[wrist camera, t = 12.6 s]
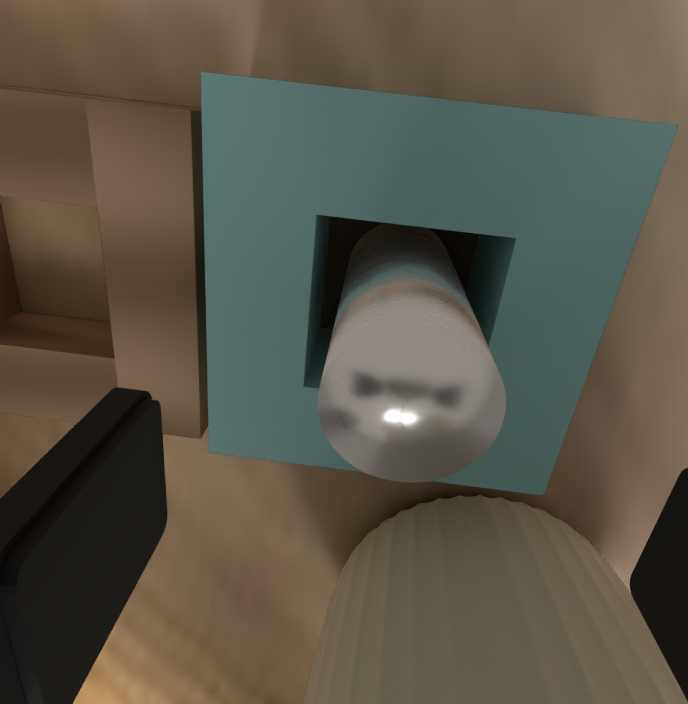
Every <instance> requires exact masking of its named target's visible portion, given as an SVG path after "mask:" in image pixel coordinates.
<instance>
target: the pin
mask: <svg viewBox="0 0 688 704" xmlns="http://www.w3.org/2000/svg"><path fill="white" fill-rule="evenodd" d="M505 411H506V395H505V388H504V384H503V381H502V378H501V375H500V373H499V371H498V368H497V366H496V364H495V361H494V359H493V357H492V354H491V352H490V350H489V348H488V345H487V343H486V341H485V338H484V336H483V334H482V331H481V329H480V327H479V324H478V322H477V320H476V317H475V315H474V313H473V310H472V308H471V306H470V303H469V301H468V299H467V296H466V294H465V292H464V289H463V287H462V285H461V282H460V280H459V278H458V275H457V273H456V271H455V268H454V266H453V264H452V261H451V259H450V257H449V254H448V252H447V250H446V248H445V246H444V244H443V242H442V241H441V240H440V238H439V237H438V236H437V235H436V234H435V233H434V232H433V231H431V230H430V229H428V228H425V227H417V226H408V225H400V224H392V223H383V224H380V225H378V226H376V227H374V228H372V229H371V230H369V231H368V232H367V233H366V234H364V235H363V236H362V237H361V239H360V240H359V241H358V242H357V244H356V245H355V247H354V249H353V251H352V253H351V256H350V259H349V264H348V268H347V272H346V277H345V281H344V285H343V289H342V294H341V298H340V302H339V306H338V311H337V315H336V319H335V324H334V328H333V332H332V336H331V341H330V345H329V349H328V354H327V358H326V362H325V366H324V371H323V375H322V379H321V384H320V388H319V394H318V414H319V420H320V423H321V426H322V429H323V431H324V434H325V436H326V438H327V439H328V441H329V442H330V444H331V445H332V447H333V448H334V449H335V450H336V451H337V453H338V454H339V455H340V456H341V457H343V458H344V459H345V460H346V461H347V462H349V463H350V464H351V465H353V466H354V467H356V468H357V469H359V470H361V471H363V472H365V473H367V474H370V475H372V476H375V477H378V478H381V479H385V480H390V481H395V482H407V483H412V482H425V481H432V480H436V479H441V478H444V477H447V476H449V475H452V474H454V473H456V472H459V471H461V470H463V469H464V468H466V467H467V466H469V465H471V464H472V463H473V462H475V461H476V460H477V459H478V458H480V457H481V456H482V455H483V454H484V453H485V452H486V451H487V450H488V448H489V447H490V446H491V444H492V443H493V442H494V440H495V439H496V437H497V435H498V433H499V431H500V429H501V426H502V423H503V420H504V416H505Z"/></svg>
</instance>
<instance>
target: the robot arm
mask: <svg viewBox="0 0 688 704" xmlns="http://www.w3.org/2000/svg"><path fill="white" fill-rule="evenodd" d="M166 522H167V502H166V485H165V468H164V451H163V434H162V417H161V405H160V403H159V401H157V400H152V397H151V394H150V393H149V392H148V391H143V390H135V389H127V388H120V387H116V388H113V389H112V390H111V391H110V392H109V393H108V394H107V395H106V396H105V397H103V398H102V399H101V400H100V401H99V402H98V403H97V404H96V405H95V406H94V407H93V408H92V409H91V410H90V411H89V412H88V413H87V414H86V415H85V416H84V417H83V418H82V419H81V420H80V421H79V422H78V423H77V424H76V425H75V426H74V427H73V428H72V429H71V430H70V431H69V432H68V433H67V434H66V435H65V436H64V437H63V438H62V439H61V440H60V441H59V442H58V443H57V444H56V445H55V446H54V447H53V448H52V449H51V450H50V451H49V452H48V453H47V454H46V455H44V456H43V457H42V458H41V459H40V460H39V461H38V462H37V463H36V464H35V465H34V466H33V467H32V468H31V469H30V470H29V471H28V472H27V473H26V474H25V475H24V476H23V477H22V478H21V479H20V480H19V481H18V482H17V483H16V484H15V485H14V486H13V487H12V488H11V489H10V490H9V491H8V492H7V493H6V494H5V495H4V496H3V497H2V498H1V499H0V704H73V702H74V700H75V698H76V696H77V694H78V693H79V691H80V689H81V687H82V685H83V683H84V681H85V679H86V678H87V676H88V674H89V672H90V670H91V668H92V666H93V664H94V663H95V661H96V659H97V657H98V655H99V653H100V651H101V649H102V648H103V646H104V644H105V642H106V640H107V638H108V636H109V634H110V633H111V631H112V629H113V627H114V625H115V623H116V621H117V619H118V618H119V616H120V614H121V612H122V610H123V608H124V606H125V605H126V603H127V601H128V599H129V597H130V595H131V593H132V591H133V590H134V588H135V586H136V584H137V582H138V580H139V578H140V576H141V575H142V573H143V571H144V569H145V567H146V565H147V563H148V561H149V560H150V558H151V556H152V554H153V552H154V550H155V548H156V546H157V545H158V543H159V541H160V539H161V537H162V535H163V533H164V530H165V526H166ZM630 590H631V594H632V597H633V599H634V601H635V603H636V605H637V607H638V609H639V611H640V612H641V614H642V616H643V618H644V620H645V622H646V624H647V626H648V628H649V629H650V631H651V633H652V635H653V637H654V639H655V641H656V643H657V645H658V647H659V648H660V650H661V652H662V654H663V656H664V658H665V660H666V662H667V664H668V665H669V667H670V669H671V671H672V673H673V675H674V677H675V679H676V681H677V683H678V684H679V686H680V688H681V690H682V692H683V694H684V696H685V698H686V700H687V701H688V468H685V469H684V470H683V471H682V472H681V473H680V475H679V477H678V479H677V481H676V483H675V485H674V487H673V489H672V492H671V494H670V496H669V498H668V500H667V502H666V504H665V506H664V508H663V510H662V512H661V514H660V516H659V519H658V521H657V523H656V525H655V527H654V529H653V531H652V533H651V535H650V537H649V539H648V541H647V543H646V546H645V548H644V550H643V552H642V554H641V556H640V558H639V560H638V562H637V564H636V566H635V568H634V571H633V573H632V575H631V578H630Z"/></svg>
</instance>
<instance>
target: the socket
mask: <svg viewBox="0 0 688 704" xmlns="http://www.w3.org/2000/svg"><path fill="white" fill-rule="evenodd" d="M201 110H202V155H203V200H204V245H205V290H206V335H207V380H208V424H209V453H217V454H224V455H232V456H240V457H248V458H255V459H263V460H271V461H279V462H287V463H294V464H302V465H310V466H318V467H325V468H333V469H341V470H349V471H356V472H363V471H361V470H359V469H357V468H356V467H354V466H353V465H351V464H350V463H349V462H347V461H346V460H345V459H344V458H343V457H341V456H340V455H339V454H338V453H337V451H336V450H335V449H334V448H333V447H332V445H331V444H330V442H329V441H328V439H327V438H326V436H325V434H324V431H323V429H322V426H321V423H320V420H319V414H318V394H319V388H320V384H321V379H322V375H323V371H324V366H325V362H326V358H327V354H328V349H329V345H330V341H331V336H332V332H333V329H330V328H322V327H321V318H322V307H323V296H324V284H325V273H326V262H327V250H328V239H329V228H330V216H332V217H341V218H349V219H358V220H366V221H375V222H383V223H392V224H400V225H408V226H417V227H425V228H434V229H442V230H451V231H459V232H468V233H476V234H478V237H477V242H476V246H475V251H474V255H473V260H472V264H471V269H470V273H469V278H468V283H467V287H466V292H465V294H466V296H467V299H468V301H469V303H470V306H471V308H472V310H473V313H474V315H475V317H476V320H477V322H478V324H479V327H480V329H481V331H482V334H483V336H484V338H485V341H486V343H487V345H488V348H489V350H490V352H491V354H492V357H493V359H494V361H495V364H496V366H497V368H498V371H499V373H500V375H501V378H502V381H503V384H504V388H505V395H506V411H505V416H504V420H503V423H502V426H501V429H500V431H499V433H498V435H497V437H496V439H495V440H494V442H493V443H492V444H491V446H490V447H489V448H488V450H487V451H486V452H485V453H484V454H483V455H482V456H481V457H480V458H478V459H477V460H476V461H475V462H473V463H472V464H471V465H469V466H467V467H466V468H464V469H463V470H461V471H459V472H456V473H454V474H452V475H449V476H447V477H444V478H441V479H436V480H432V481H434V482H442V483H450V484H457V485H465V486H473V487H481V488H488V489H496V490H504V491H512V492H519V493H527V494H535V495H543V496H544V494H545V491H546V488H547V485H548V483H549V480H550V477H551V474H552V472H553V469H554V466H555V463H556V461H557V458H558V455H559V452H560V450H561V447H562V444H563V441H564V439H565V436H566V433H567V430H568V428H569V425H570V422H571V419H572V417H573V414H574V411H575V408H576V405H577V403H578V400H579V397H580V394H581V392H582V389H583V386H584V383H585V381H586V378H587V375H588V372H589V370H590V367H591V364H592V361H593V359H594V356H595V353H596V350H597V348H598V345H599V342H600V339H601V337H602V334H603V331H604V328H605V326H606V323H607V320H608V317H609V315H610V312H611V309H612V306H613V304H614V301H615V298H616V295H617V293H618V290H619V287H620V284H621V282H622V279H623V276H624V273H625V270H626V268H627V265H628V262H629V259H630V257H631V254H632V251H633V248H634V246H635V243H636V240H637V237H638V235H639V232H640V229H641V226H642V224H643V221H644V218H645V215H646V213H647V210H648V207H649V204H650V202H651V199H652V196H653V193H654V191H655V188H656V185H657V182H658V180H659V177H660V174H661V171H662V169H663V166H664V163H665V160H666V158H667V155H668V152H669V149H670V147H671V144H672V141H673V138H674V135H675V133H676V130H677V127H678V125H669V124H661V123H652V122H643V121H634V120H625V119H616V118H607V117H599V116H590V115H581V114H572V113H563V112H554V111H545V110H536V109H528V108H519V107H510V106H501V105H492V104H483V103H474V102H466V101H457V100H448V99H439V98H430V97H421V96H412V95H404V94H395V93H386V92H377V91H368V90H359V89H350V88H341V87H333V86H324V85H315V84H306V83H297V82H288V81H279V80H271V79H262V78H253V77H244V76H235V75H226V74H217V73H209V72H201ZM364 473H365V472H364Z"/></svg>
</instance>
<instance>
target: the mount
mask: <svg viewBox="0 0 688 704" xmlns="http://www.w3.org/2000/svg"><path fill="white" fill-rule="evenodd" d="M0 196H6V197H14V198H23V199H31V200H39V201H48V202H56V203H65V204H73V205H81V206H90V207H98V216H99V225H100V233H101V242H102V251H103V260H104V268H105V277H106V286H107V295H108V303H109V312H110V321H111V323H108V322H100V321H91V320H83V319H75V318H67V317H59V316H51V315H43V314H35V313H27V312H21V308H20V303H19V298H18V293H17V288H16V283H15V278H14V273H13V268H12V263H11V258H10V253H9V248H8V243H7V238H6V233H5V228H4V222H3V217H2V212H1V207H0V413H4V414H12V415H20V416H27V417H35V418H43V419H51V420H59V421H66V422H74V423H78V422H79V421H80V420H81V419H82V418H83V417H84V416H85V415H86V414H87V413H88V412H89V411H90V410H91V409H92V408H93V407H94V406H95V405H96V404H97V403H98V402H99V401H100V400H101V399H102V398H103V397H105V396H106V395H107V394H108V393H109V392H110V391H111V390H112V389H113V388H116V387H120V388H127V389H135V390H143V391H148V392H149V393H150V394H151V397H152V400H157V401H159V403H160V405H161V417H162V434H168V435H176V436H183V437H191V438H199V439H201V437H202V436H203V434H204V432H205V430H206V428H207V427H208V425H209V424H208V380H207V335H206V290H205V245H204V200H203V155H202V110H201V108H197V107H188V106H179V105H170V104H162V103H153V102H144V101H135V100H127V99H118V98H109V97H100V96H92V95H83V94H74V93H65V92H57V91H48V90H39V89H30V88H22V87H13V86H4V85H0Z"/></svg>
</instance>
